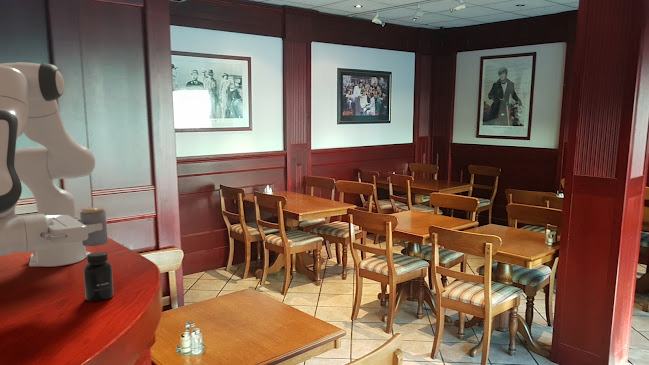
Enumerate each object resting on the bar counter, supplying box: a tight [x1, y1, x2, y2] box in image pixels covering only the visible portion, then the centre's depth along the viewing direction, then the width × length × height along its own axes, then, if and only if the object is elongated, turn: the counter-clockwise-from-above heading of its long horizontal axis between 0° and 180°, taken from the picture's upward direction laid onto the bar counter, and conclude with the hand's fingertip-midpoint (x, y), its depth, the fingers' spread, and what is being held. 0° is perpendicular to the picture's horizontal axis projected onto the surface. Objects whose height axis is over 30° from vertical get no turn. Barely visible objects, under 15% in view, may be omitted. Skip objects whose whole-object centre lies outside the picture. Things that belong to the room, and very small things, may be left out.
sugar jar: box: [79, 206, 109, 247], centre depth 127 cm, size 6×6×9 cm
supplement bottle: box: [83, 251, 114, 303], centre depth 128 cm, size 7×7×12 cm
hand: (97, 223), depth 127 cm, fingers closed on sugar jar, 6 cm apart
